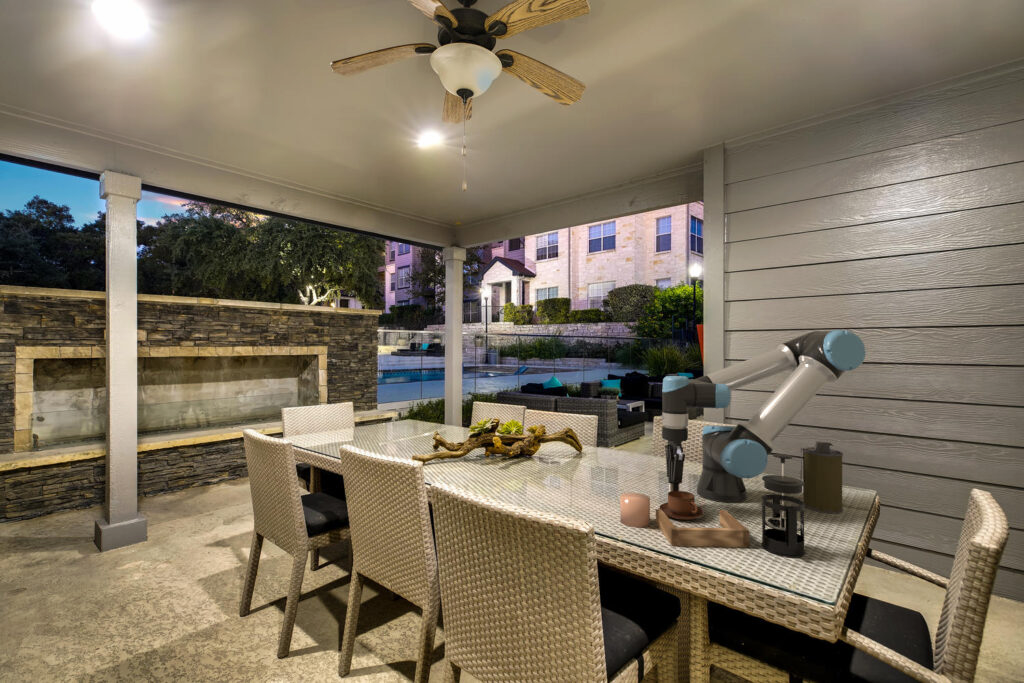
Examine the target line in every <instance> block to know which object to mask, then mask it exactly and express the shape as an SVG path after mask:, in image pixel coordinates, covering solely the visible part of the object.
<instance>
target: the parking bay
mask: <svg viewBox="0 0 1024 683" xmlns="http://www.w3.org/2000/svg"><path fill="white" fill-rule="evenodd" d="M718 513H719V520H718V521H719V526H720V527H692V526H691V527H684V526H683V527H682V526H681V527H677V526H675V524H674V523H673V522H672V521H671V519H670V518H669V516H667V515H665V513H664V512H663V511H662V510H661V509H660V508H656V509H655V524H656V526H657V528H658V529H659V531H660V532H661V533H662V535H663V536H664V538H665V539H666V541H667V542H668V543H669V544H670V545H671V547H672V546H675V547H677V546H678V547H681V546H682V547H723V548H724V547H725V548H726V547H729V548H731V547H733V548H735V547H737V548H750V530H749V529H748V528H747V527H746V526H744V525H743V524H742V523H741V522H740V521H738V520H737V519H736V518H735V517H734V516H732V515H731V514H730V513H729V512H728V511H727V510H726V509H725V510H724V509H719V512H718Z"/></svg>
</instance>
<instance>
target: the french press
mask: <svg viewBox="0 0 1024 683" xmlns="http://www.w3.org/2000/svg"><path fill="white" fill-rule="evenodd" d="M772 457H774V458H778V459H780V464H781V475H779V474H778V475H777V474H769V475H767V474H766V475H763V476H762V477H761V480H762V481H764V482H763V483H764V484H763V487H764V489H766V490H768V491H770V492H775V493H777V494H773V493H772V494H765V495H763V496H761V497H762V498H761V499H762V500H761V502H762V503H761V506H762V507H761V510H762V512H761V518H762V519H761V525H762V526H761V530H762V532H761V533H762V534H761V536H762V537H761V540H762V541H761V543H760V545H761V548H762V549H763V550H764V551H766V552H768V553H770V554H772V555H776V556H779V557H784V558H792V559H795V558H796V559H797V558H798V559H799V558H802V557H804V556H806V549H805V507H804V502H803V499H799V498H796V497H793V496H789V495H799V494H801V493H802V494H803V485H804V482H803V479H802V480H801V479H799V478H796V477H792V476H787V475H786V476H785V474H784V470H785V469H784V465H785V464H786V460H791V459H793V456H791V455H789V454H786V453H785V454H783V453H774V454H773V455H772ZM778 493H779V494H778ZM785 494H786V495H785ZM770 500H771V501H772V502H770ZM785 502H789V503H792V504H796V505H785V504H784V503H785ZM766 508H769V509H772V516H768V517H767V516H766ZM798 512H799V514H800V515H799V516H800V518H799V519H800V522H799V521H798ZM784 513H785V514H784ZM784 515H785V517H784ZM766 526H767V527H768V528H766ZM798 532H800V533H798Z"/></svg>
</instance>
